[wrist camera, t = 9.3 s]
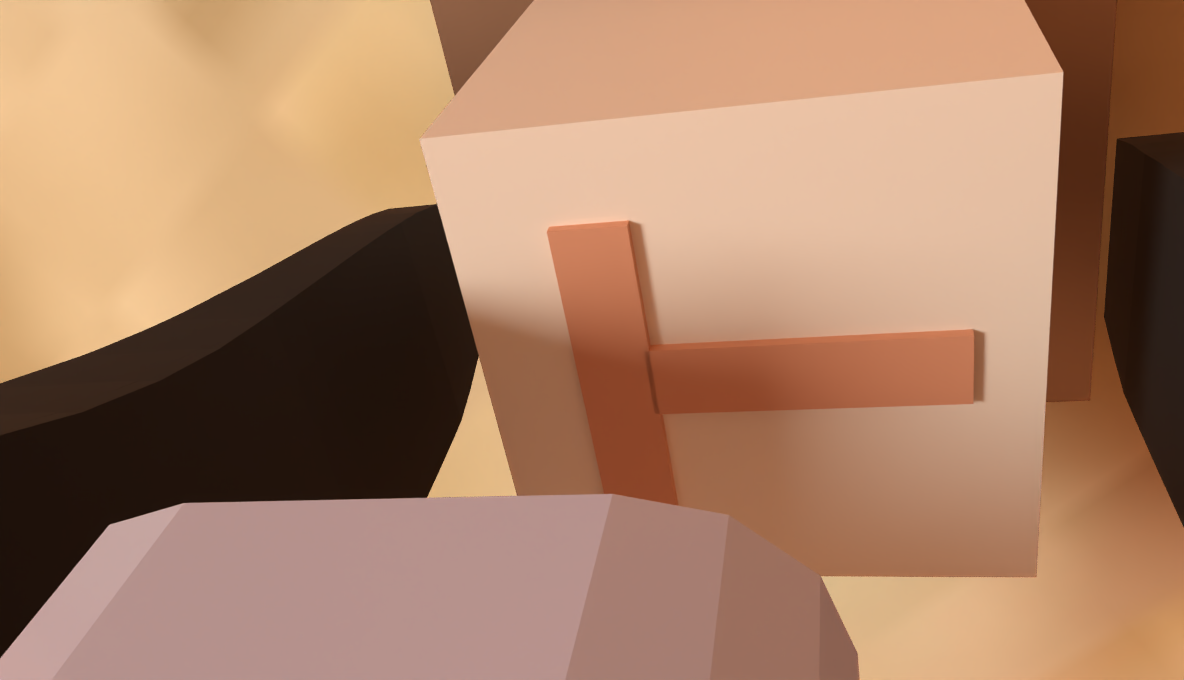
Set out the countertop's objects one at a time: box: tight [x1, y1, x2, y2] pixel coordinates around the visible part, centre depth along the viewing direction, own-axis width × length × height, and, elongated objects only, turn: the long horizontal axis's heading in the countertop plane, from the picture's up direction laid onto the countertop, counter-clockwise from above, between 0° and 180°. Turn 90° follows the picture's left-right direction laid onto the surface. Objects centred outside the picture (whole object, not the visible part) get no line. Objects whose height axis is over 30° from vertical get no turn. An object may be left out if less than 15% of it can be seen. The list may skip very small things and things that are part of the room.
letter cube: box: [420, 0, 1063, 577], centre depth 12 cm, size 5×5×5 cm
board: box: [430, 0, 1117, 402], centre depth 14 cm, size 8×8×1 cm
